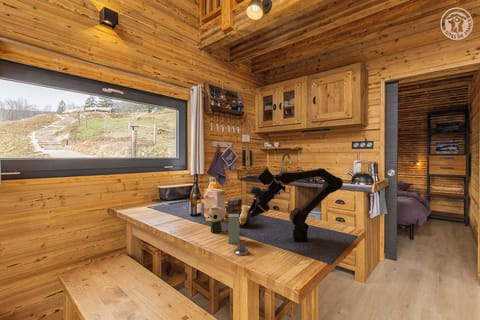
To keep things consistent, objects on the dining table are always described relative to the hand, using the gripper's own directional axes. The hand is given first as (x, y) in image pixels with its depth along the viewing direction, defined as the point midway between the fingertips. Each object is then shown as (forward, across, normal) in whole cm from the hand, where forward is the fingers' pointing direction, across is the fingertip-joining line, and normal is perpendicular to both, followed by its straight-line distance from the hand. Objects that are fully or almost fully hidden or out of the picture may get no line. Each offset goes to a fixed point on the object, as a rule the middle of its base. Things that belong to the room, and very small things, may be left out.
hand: (249, 214), depth 111 cm
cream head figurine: (+22, -15, -3) cm, 27 cm away
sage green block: (+15, 0, +4) cm, 15 cm away
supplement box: (+14, -25, +5) cm, 29 cm away
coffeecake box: (+24, -42, -5) cm, 48 cm away
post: (+13, +13, +6) cm, 19 cm away
